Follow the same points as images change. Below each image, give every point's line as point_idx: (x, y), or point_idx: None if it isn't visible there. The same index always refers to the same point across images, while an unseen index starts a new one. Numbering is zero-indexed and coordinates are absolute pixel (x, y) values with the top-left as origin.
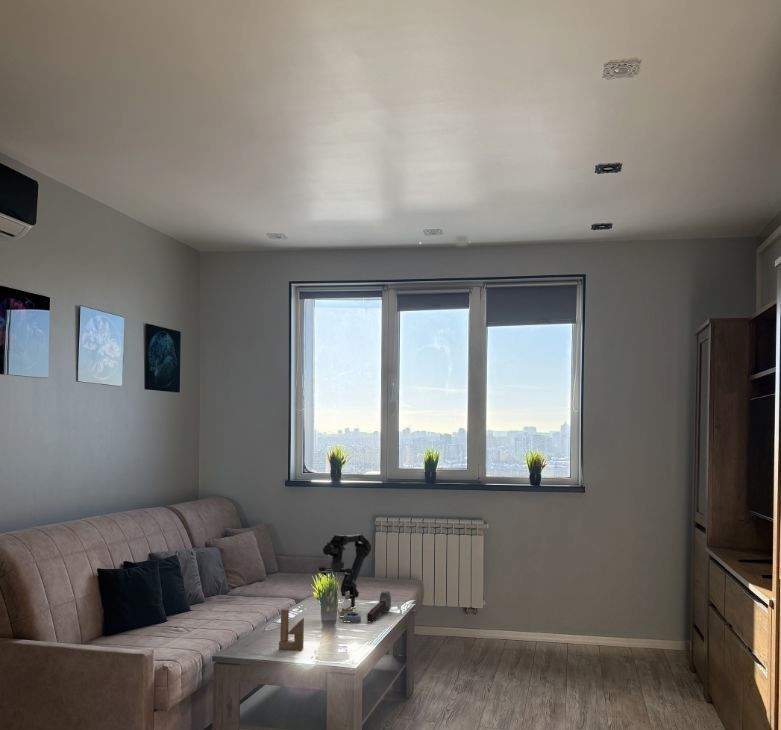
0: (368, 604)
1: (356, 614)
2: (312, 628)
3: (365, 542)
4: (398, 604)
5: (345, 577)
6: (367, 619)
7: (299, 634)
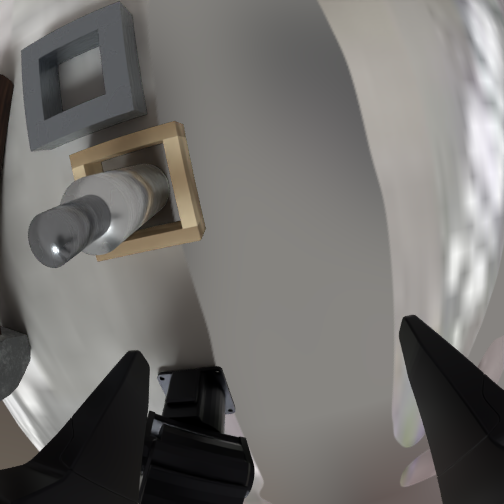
0: None
1: (54, 117)
2: None
3: None
4: (45, 434)
5: (48, 468)
6: (4, 76)
7: None
